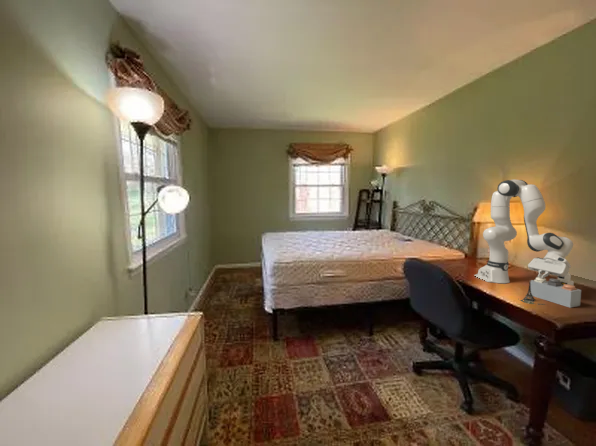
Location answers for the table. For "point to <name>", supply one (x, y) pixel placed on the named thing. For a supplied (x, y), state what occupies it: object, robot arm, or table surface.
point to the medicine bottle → (566, 280)
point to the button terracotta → (569, 287)
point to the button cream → (540, 280)
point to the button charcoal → (554, 282)
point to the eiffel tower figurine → (529, 296)
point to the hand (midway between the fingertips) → (540, 277)
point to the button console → (556, 294)
